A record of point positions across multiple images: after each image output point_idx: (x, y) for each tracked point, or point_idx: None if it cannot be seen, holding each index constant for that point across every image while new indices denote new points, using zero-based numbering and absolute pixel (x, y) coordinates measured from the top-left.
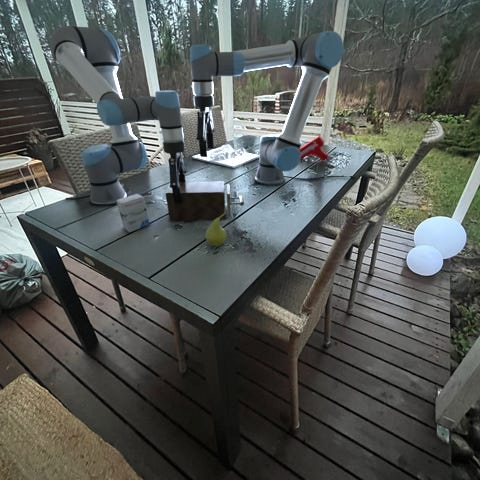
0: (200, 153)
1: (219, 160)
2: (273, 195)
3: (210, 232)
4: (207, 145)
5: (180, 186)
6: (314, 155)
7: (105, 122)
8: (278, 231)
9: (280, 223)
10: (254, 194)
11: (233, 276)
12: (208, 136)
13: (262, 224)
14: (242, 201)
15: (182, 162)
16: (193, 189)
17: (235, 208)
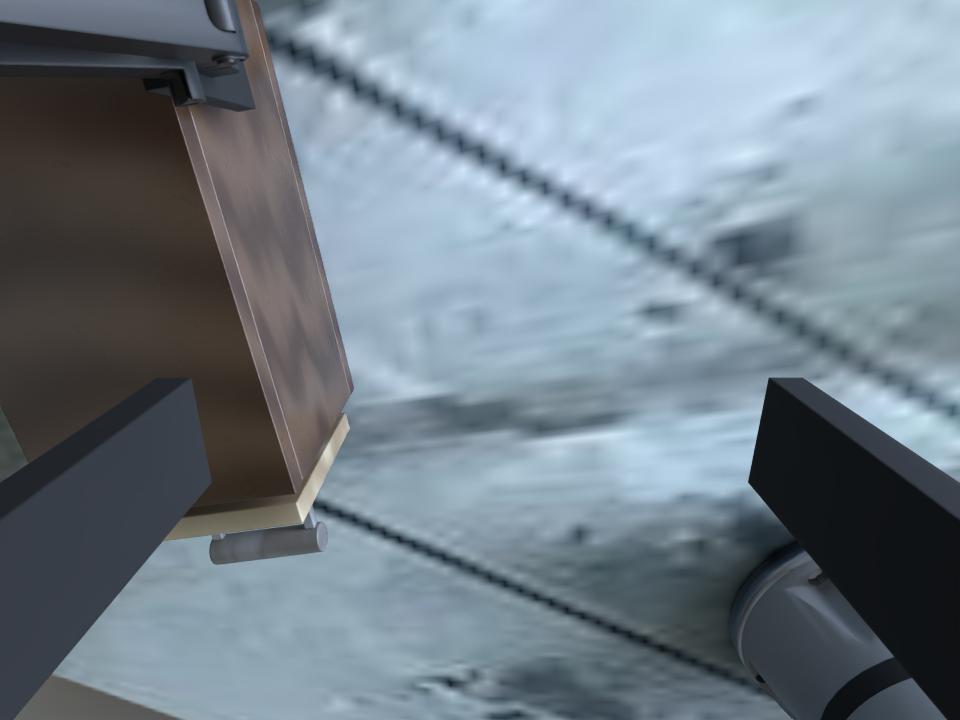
0: (122, 412)
1: None
2: (569, 632)
3: None
4: (796, 404)
5: (30, 90)
6: None
7: None
8: (153, 652)
9: (232, 659)
10: (581, 537)
11: None
12: (933, 563)
13: (198, 591)
14: (221, 561)
15: (47, 38)
16: (7, 262)
17: (355, 450)
